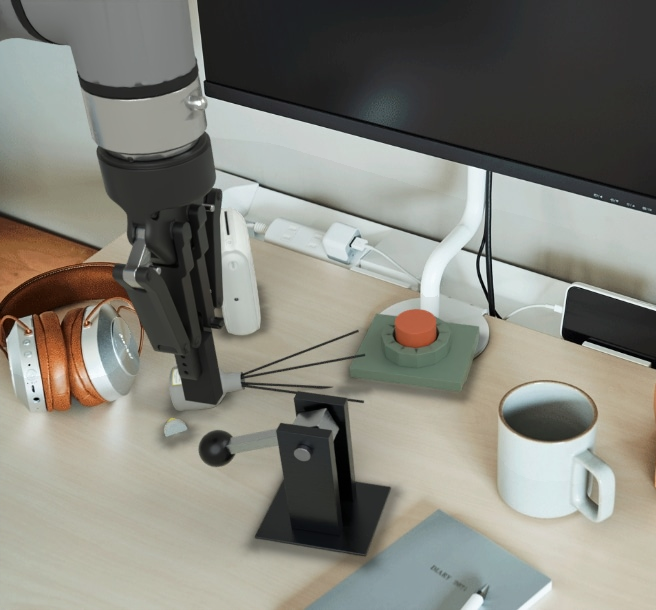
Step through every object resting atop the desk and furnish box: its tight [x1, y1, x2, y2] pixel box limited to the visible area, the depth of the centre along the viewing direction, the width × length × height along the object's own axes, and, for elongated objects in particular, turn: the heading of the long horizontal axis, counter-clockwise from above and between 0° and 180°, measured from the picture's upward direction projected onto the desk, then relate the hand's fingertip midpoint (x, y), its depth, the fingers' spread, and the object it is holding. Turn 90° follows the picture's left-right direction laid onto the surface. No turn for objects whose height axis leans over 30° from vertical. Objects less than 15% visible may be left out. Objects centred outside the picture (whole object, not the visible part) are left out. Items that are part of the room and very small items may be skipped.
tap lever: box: [197, 408, 339, 468], centre depth 78 cm, size 13×3×3 cm, turn 79°
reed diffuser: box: [163, 329, 365, 437], centre depth 94 cm, size 10×7×20 cm
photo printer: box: [220, 207, 262, 336], centre depth 105 cm, size 10×4×12 cm, turn 16°
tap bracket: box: [254, 390, 392, 557], centre depth 79 cm, size 10×8×13 cm
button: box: [395, 308, 436, 348], centre depth 99 cm, size 4×4×2 cm
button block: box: [349, 313, 480, 393], centre depth 100 cm, size 12×10×4 cm
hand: (204, 396), depth 77 cm, fingers closed
